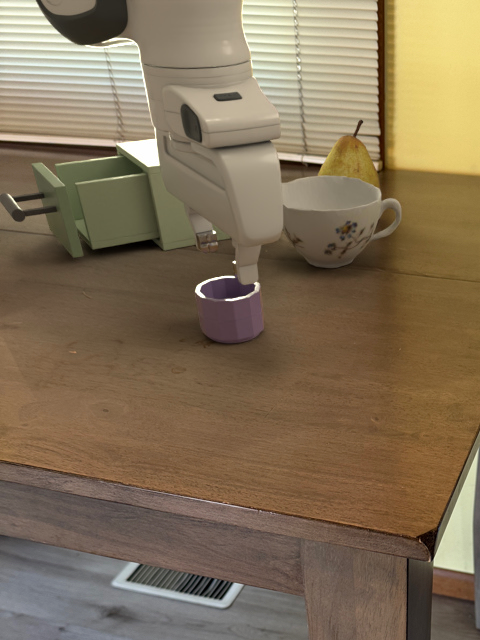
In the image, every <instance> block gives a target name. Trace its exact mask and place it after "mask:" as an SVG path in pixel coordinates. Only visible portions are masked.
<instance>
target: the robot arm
mask: <svg viewBox="0 0 480 640" xmlns="http://www.w3.org/2000/svg"><path fill="white" fill-rule="evenodd" d="M244 1H245V0H35V2H36V4H37V6H38V7H39V10H40V12H41V13H42V14H43V16H44V18H45V19H46V20H47V22H48V23H49V24H50V25H51V26H52V27H53V28H54V29H55V30H56V31H57V32H58V33H59V34H60V35H61V36H63V37H64V38H65V39H67V40H68V41H69V42H71V43H73V44H75V45H77V46H85V47H89V48H98V49H104V48H112V47H118V46H119V47H120V46H125V45H126V46H127V45H136V47H137V48H138V53H139V63H140V67H141V72H142V73H141V74H142V79H143V84H144V89H145V94H146V100H147V105H148V109H149V115H150V120H151V125H152V127H153V128H154V135H155V139H156V143H157V151H158V157H159V164H160V170H161V176H162V179H163V182H164V185H165V187H166V189H167V191H168V192H169V193H171V194H172V195H173V196H175V197H176V198H178V199H179V200H180V201H182V202H183V203H184V208H185V212H186V215H187V217H188V220H189V222H190V225H191V227H192V230H193V231H194V237H195V243H196V245H195V247H196V248H197V249H198V250H199V251H200V252H202V253H203V254H209V253H215V252H217V251H218V250H219V243H218V241H217V234H216V232H215V231H213V227H212V224H213V225H214V226H216V227H217V228H219V229H220V230H221V231H223V232H224V233H225V234H227V235H228V236H230V237H231V238H230V239H231V244H232V247H233V248H235V251H234V252H235V255H234V256H235V257H234V261H232V262H231V264H232V271H233V276H234V277H235V279H236V280H238V281H239V282H240V283H241V284H243V285H248V284H253V283H256V282H258V281H259V270H258V263H259V257H260V254H261V249H262V246H264V245H267V244H272V243H276V242H278V241H279V240H280V238H281V236H282V231H283V198H282V183H283V182H282V172H281V163H280V158H279V154H278V151H277V148H276V146H275V144H274V143H273V140H279V139H280V138H281V136H282V128H281V127H282V125H281V117H280V113H279V111H278V109H277V108H276V106H275V105H274V104H273V103H272V102H271V101H270V100H269V98H268V97H267V95H266V94H265V93H264V91H263V90H262V88H261V87H260V84H259V82H258V80H257V78H256V77H255V76H254V71H253V61H252V54H251V53H252V52H251V49H250V46H249V44H248V40H247V37H246V34H245V30H244V23H243V9H244Z"/></svg>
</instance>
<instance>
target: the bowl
mask: <svg viewBox="0 0 480 640" xmlns="http://www.w3.org/2000/svg"><path fill="white" fill-rule="evenodd" d="M262 292H263V291H262V285H261V284H260V283H259V282H258V281H257V282H256V283H253V284H248V285H243V284H241V283H240V282H239V281H238V280H236V279H235V277H234V275H224V276H223V275H222V276H219V277H213V278H209V279H206V280H204V281H202V282H201V283H198V284H197V285H196V287H195V289H194V297H195V303H196V308H197V309H196V310H197V315H198V320H199V325H200V326H199V327H200V331H201V332H202V333H203V334H204V335H205V336H206V337H207V338H209V339H210V340H212V341H213V342H217V343H222V344H240V343H246V342H248V341H251V340H253V339H255V338H257V337H258V336H259V335H260V334H261V332H263V331H264V330H265V324H266V320H265V319H266V318H265V310H264V303H263V302H264V301H263V293H262Z"/></svg>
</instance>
